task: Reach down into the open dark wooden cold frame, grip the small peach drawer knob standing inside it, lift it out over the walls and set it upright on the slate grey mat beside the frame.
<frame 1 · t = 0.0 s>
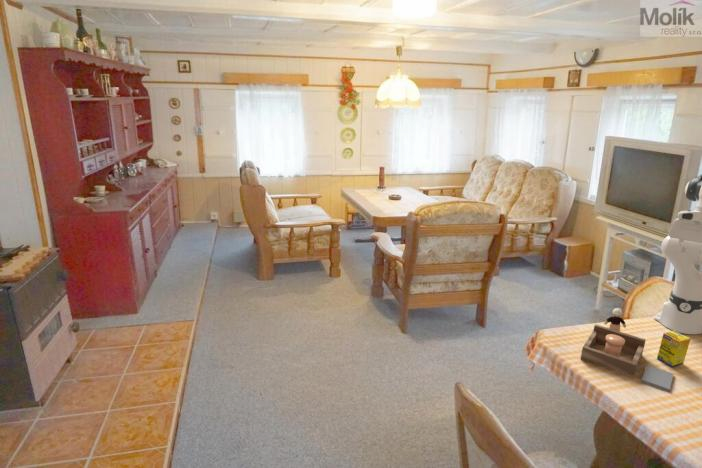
hand: (698, 255, 160), 39 cm above the table, tool pointing down, fingers open, 8 cm apart
peach drawer knob: (613, 348, 167), in the cold frame
grandmother figurine: (611, 337, 182), on the table
slate mat: (657, 378, 156), on the table
cold frame: (611, 357, 168), on the table
supplement box: (669, 362, 166), on the table
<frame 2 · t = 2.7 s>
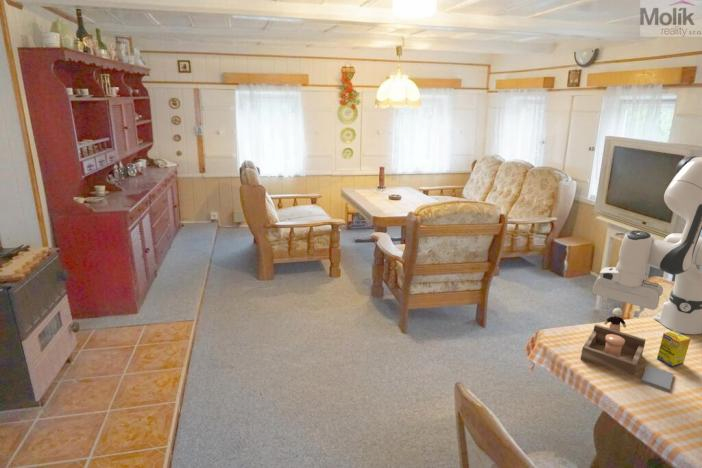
hand: (620, 312, 162), 19 cm above the table, tool pointing down, fingers open, 8 cm apart
nothing on the table moved.
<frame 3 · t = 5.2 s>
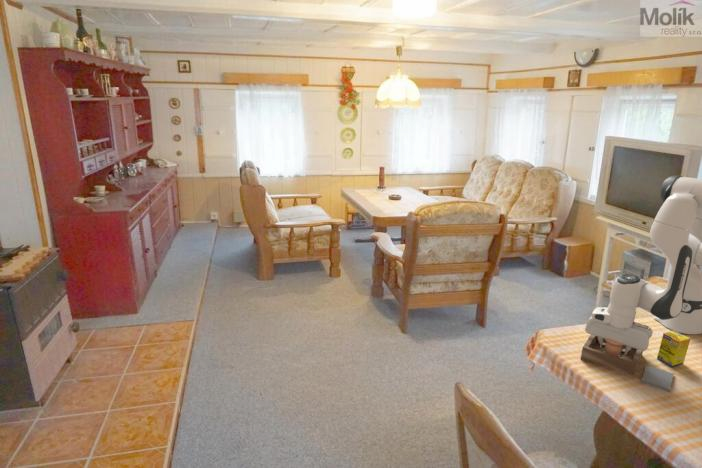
hand: (612, 351, 167), 3 cm above the table, tool pointing down, fingers closed on peach drawer knob, 6 cm apart
peach drawer knob: (613, 348, 167), in the cold frame, touching gripper
everything else where it was.
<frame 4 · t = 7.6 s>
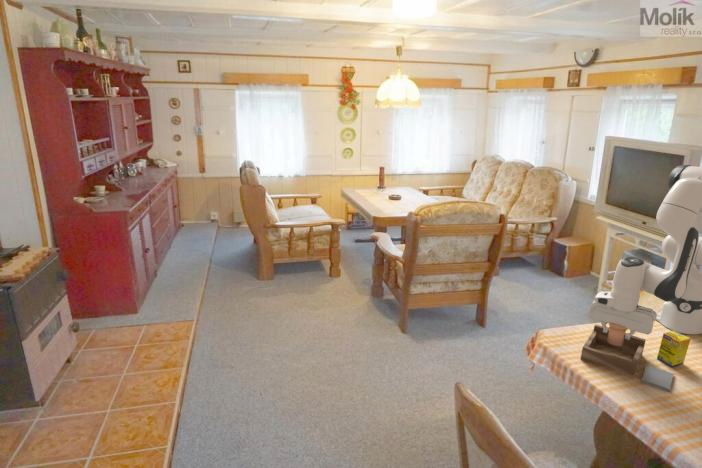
hand: (616, 335, 165), 9 cm above the table, tool pointing down, fingers closed on peach drawer knob, 6 cm apart
peach drawer knob: (616, 332, 165), point 10 cm above the table, touching gripper
everything else where it was.
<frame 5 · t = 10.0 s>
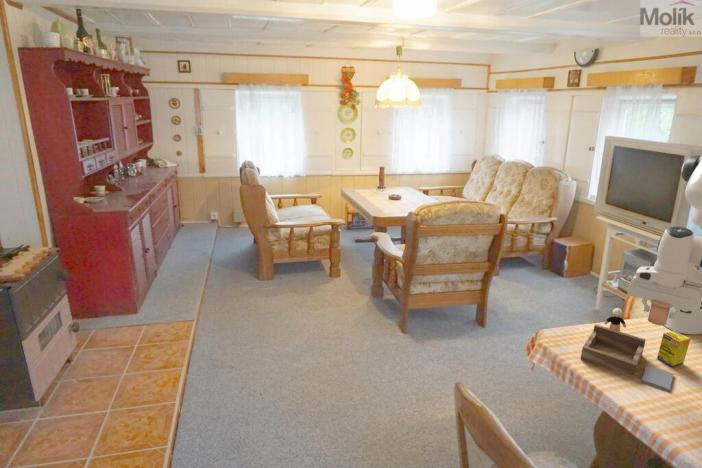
hand: (658, 314, 152), 23 cm above the table, tool pointing down, fingers closed on peach drawer knob, 6 cm apart
peach drawer knob: (659, 311, 151), point 24 cm above the table, touching gripper
everything else where it was.
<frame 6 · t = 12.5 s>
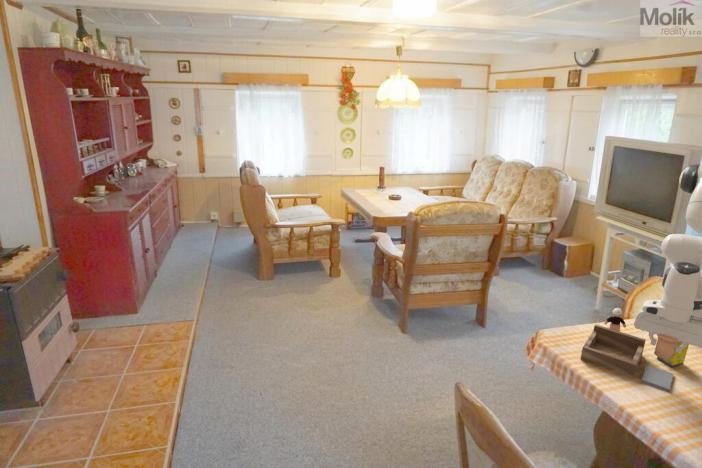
hand: (665, 348, 152), 12 cm above the table, tool pointing down, fingers closed on peach drawer knob, 6 cm apart
peach drawer knob: (666, 344, 151), point 14 cm above the table, touching gripper
everything else where it was.
when the fingers open (5 cm above the table, at t = 14.8 s): peach drawer knob drops 1 cm, resting on slate mat.
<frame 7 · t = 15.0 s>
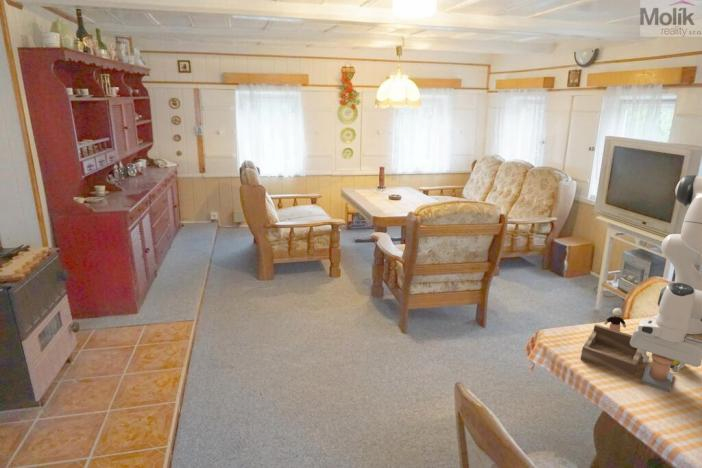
hand: (660, 366, 154), 5 cm above the table, tool pointing down, fingers open, 7 cm apart
peach drawer knob: (660, 366, 154), on the slate mat, point 5 cm above the table
everything else where it was.
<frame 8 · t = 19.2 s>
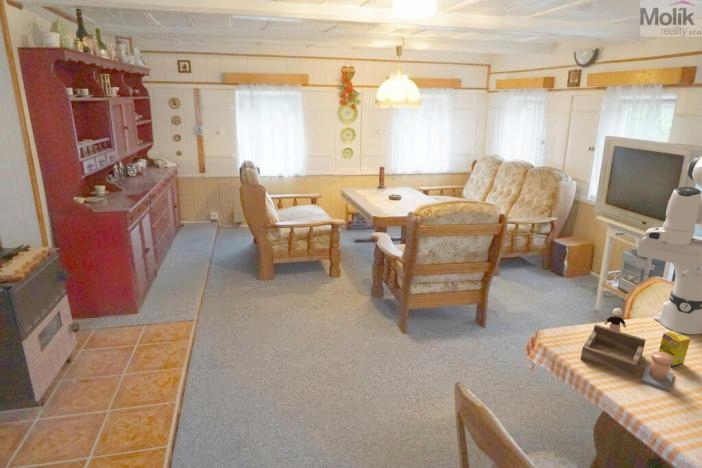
hand: (667, 273, 157), 34 cm above the table, tool pointing down, fingers open, 8 cm apart
nothing on the table moved.
at the end: peach drawer knob inside the target area on the slate mat (0.0 cm from its centre), point 5.0 cm above the slate mat's base; peach drawer knob tilted 0°; the gripper is holding nothing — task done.
